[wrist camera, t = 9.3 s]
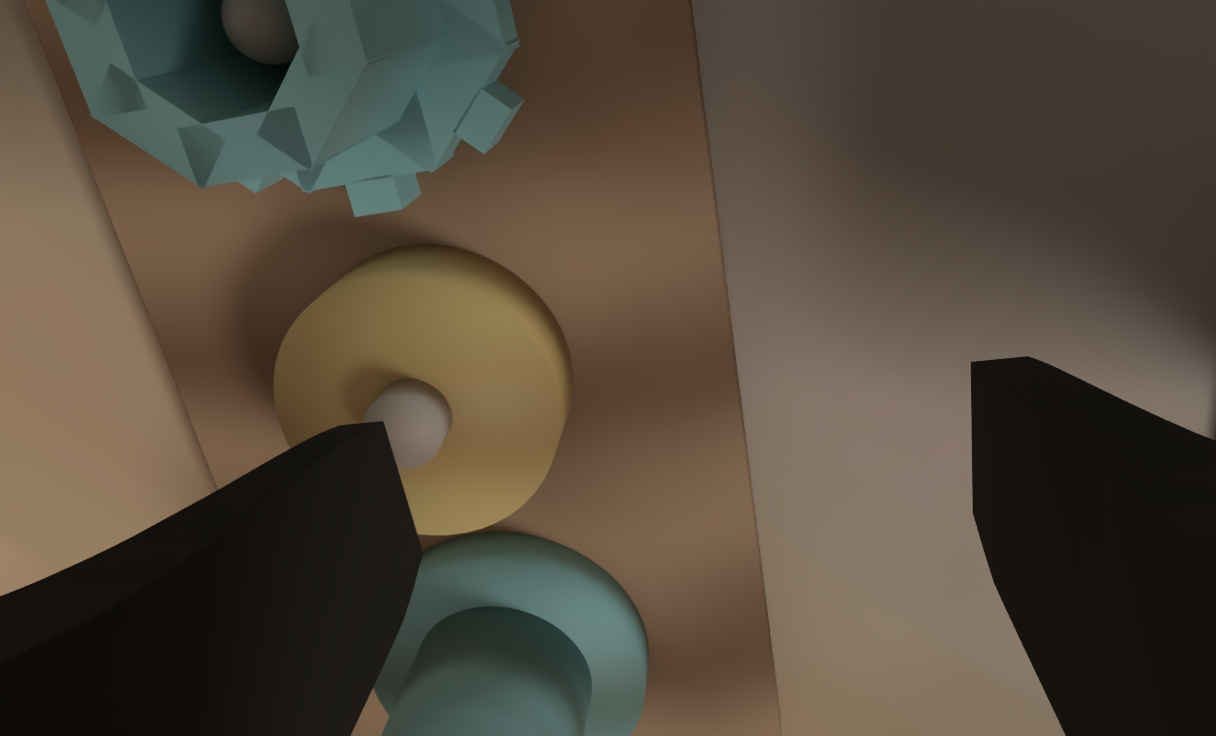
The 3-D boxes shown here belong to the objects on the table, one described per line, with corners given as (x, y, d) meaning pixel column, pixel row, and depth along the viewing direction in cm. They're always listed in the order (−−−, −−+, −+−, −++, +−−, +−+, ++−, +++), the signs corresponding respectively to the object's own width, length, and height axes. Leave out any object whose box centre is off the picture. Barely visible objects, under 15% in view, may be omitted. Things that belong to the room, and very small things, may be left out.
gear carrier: (5, -139, 18) (-361, -178, 12) (654, -291, 16) (607, -435, 10) (337, 729, 27) (223, 957, 21) (779, 713, 25) (796, 964, 19)
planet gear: (486, -288, 15) (380, -387, 11) (578, 168, 18) (526, 245, 14) (84, -181, 17) (-165, -227, 12) (231, 225, 20) (77, 313, 15)
